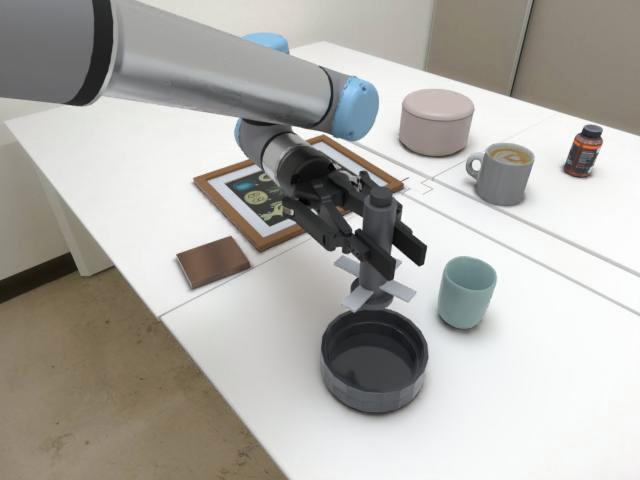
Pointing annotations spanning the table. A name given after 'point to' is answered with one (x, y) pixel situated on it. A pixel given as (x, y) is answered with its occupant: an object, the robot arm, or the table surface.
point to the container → (435, 121)
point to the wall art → (275, 193)
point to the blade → (370, 284)
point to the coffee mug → (502, 172)
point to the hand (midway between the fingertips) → (407, 263)
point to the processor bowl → (373, 359)
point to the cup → (465, 291)
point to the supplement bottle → (584, 151)
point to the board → (212, 261)
